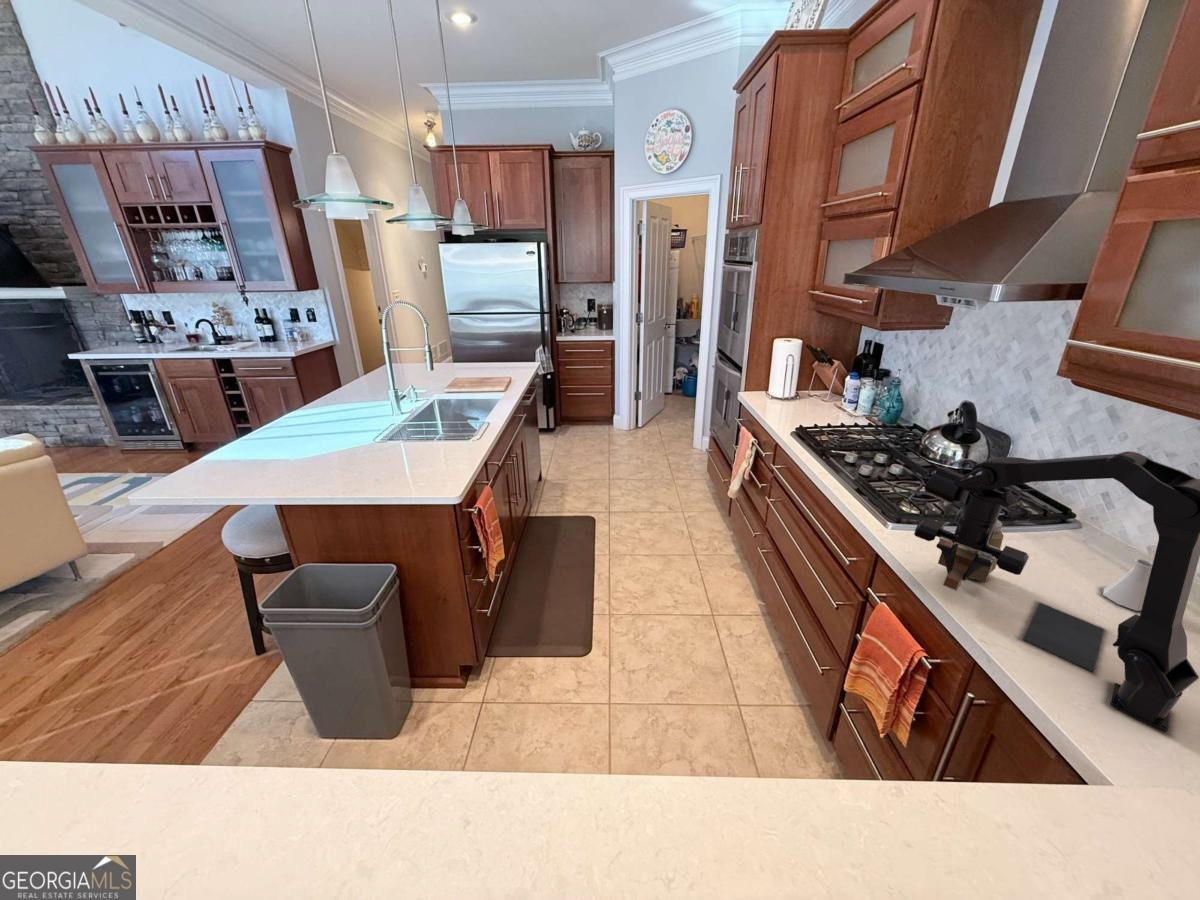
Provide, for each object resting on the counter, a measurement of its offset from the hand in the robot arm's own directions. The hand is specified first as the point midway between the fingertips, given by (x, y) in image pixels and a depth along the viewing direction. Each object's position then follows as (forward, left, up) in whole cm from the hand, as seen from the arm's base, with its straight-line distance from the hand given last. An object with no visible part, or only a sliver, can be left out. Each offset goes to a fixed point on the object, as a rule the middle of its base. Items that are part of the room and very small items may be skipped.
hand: (956, 576), depth 103 cm
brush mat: (+3, -19, -5) cm, 20 cm away
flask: (+27, -26, -5) cm, 38 cm away
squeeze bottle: (+12, -1, -5) cm, 13 cm away
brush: (+2, 0, -1) cm, 3 cm away
